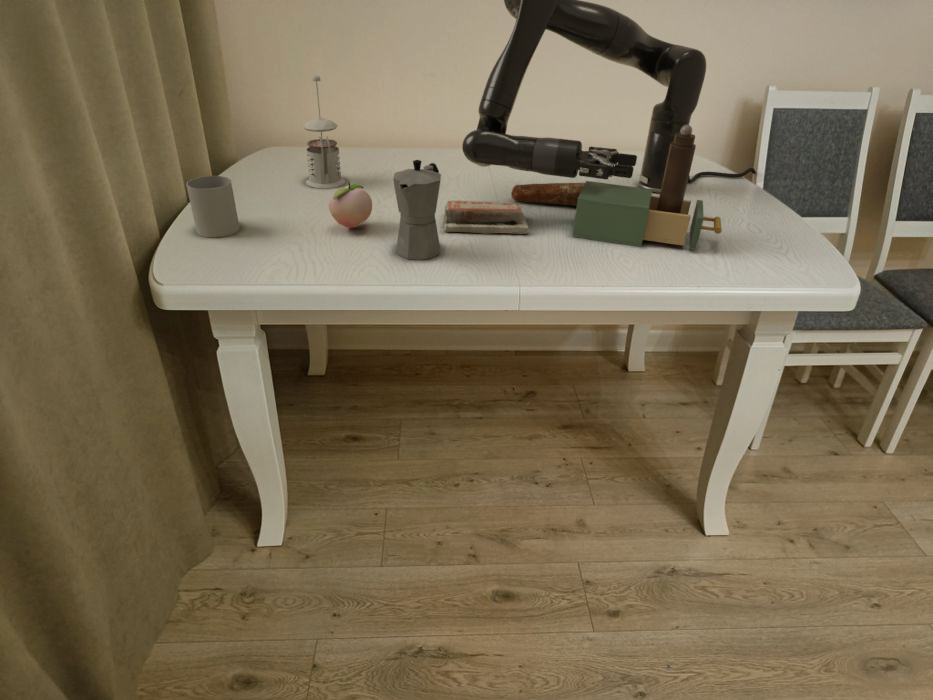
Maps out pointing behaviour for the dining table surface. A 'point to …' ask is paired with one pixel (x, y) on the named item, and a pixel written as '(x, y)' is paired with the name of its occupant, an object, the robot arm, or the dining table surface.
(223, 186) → the cup
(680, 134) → the pepper mill
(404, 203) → the coffeepot
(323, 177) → the french press
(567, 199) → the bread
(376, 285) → the dining table surface
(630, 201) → the cabinet
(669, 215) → the drawer
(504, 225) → the packaged product
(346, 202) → the decorative fruit
